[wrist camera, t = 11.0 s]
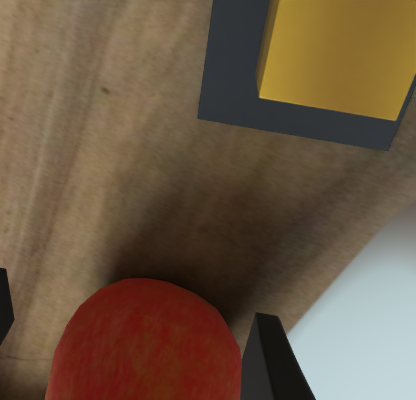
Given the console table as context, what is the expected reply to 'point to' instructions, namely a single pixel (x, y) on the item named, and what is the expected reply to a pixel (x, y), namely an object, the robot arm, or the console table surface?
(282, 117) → the mat
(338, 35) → the top cube
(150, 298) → the apple
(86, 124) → the console table surface
